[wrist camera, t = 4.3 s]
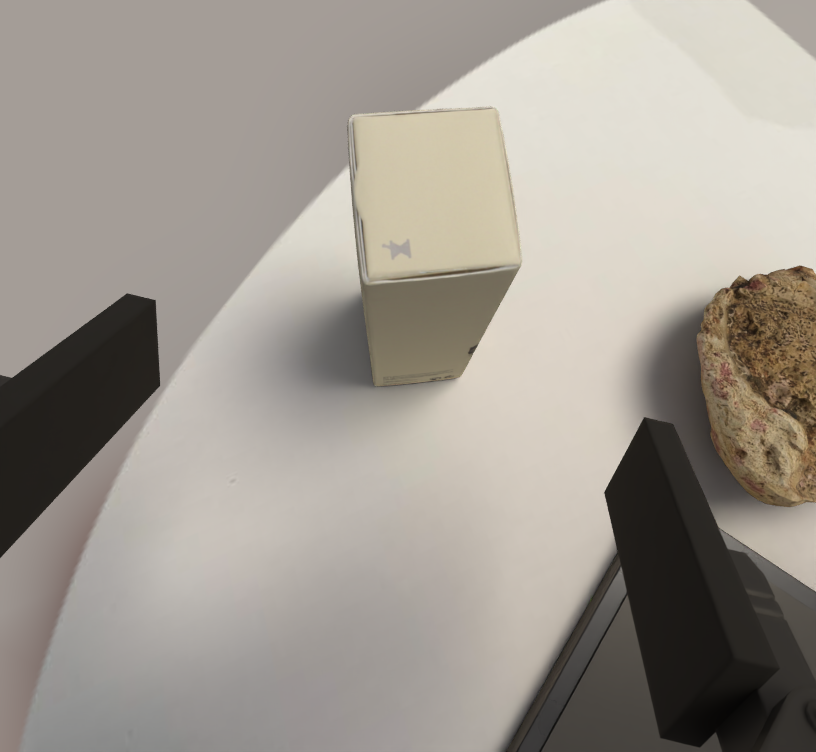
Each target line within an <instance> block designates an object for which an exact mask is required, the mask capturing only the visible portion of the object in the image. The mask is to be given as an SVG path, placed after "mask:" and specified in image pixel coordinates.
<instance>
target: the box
mask: <svg viewBox="0 0 816 752" xmlns="http://www.w3.org/2000/svg"><path fill="white" fill-rule="evenodd" d="M347 131H348V150H349V166H350V180H351V193H352V206H353V217H354V228H355V238H356V249H357V258H358V267H359V275H360V284H361V293H362V301H363V309H364V316H365V323H366V330H367V338H368V345H369V353H370V360H371V369H372V377H373V383H374V385H375V386H387V385H400V384H410V383H419V382H428V381H437V380H445V379H452V378H458V377H460V376H461V375H462V374H463V372H464V370H465V368H466V366H467V365H468V363H469V361H470V359H471V357H472V355H473V353H474V351H475V349H476V348H477V346H478V344H479V342H480V340H481V338H482V336H483V335H484V333H485V331H486V329H487V327H488V325H489V323H490V322H491V320H492V318H493V316H494V314H495V312H496V311H497V309H498V307H499V305H500V303H501V301H502V300H503V298H504V296H505V294H506V292H507V290H508V288H509V287H510V285H511V283H512V281H513V279H514V277H515V276H516V274H517V272H518V270H519V268H520V267H521V263H522V254H521V245H520V236H519V228H518V222H517V215H516V208H515V201H514V194H513V186H512V181H511V175H510V169H509V163H508V158H507V152H506V146H505V141H504V136H503V131H502V127H501V123H500V117H499V113H498V110H497V109H496V108H495V107H491V106H490V107H477V108H458V109H437V110H411V111H396V112H381V113H367V114H354V115H351V117H350V118H349V120H348V125H347Z"/></svg>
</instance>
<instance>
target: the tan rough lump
mask: <svg viewBox="0 0 816 752" xmlns="http://www.w3.org/2000/svg"><path fill="white" fill-rule="evenodd" d="M697 347H698V355H699V359H700V363H701V385H702V390H703V393H704V396H705V399H706V406H707V412H708V417H709V421H710V425H711V433H710V436H711V439H712V441H713V444H714V447H715V449H716V451H717V453H718V454H719V455H720V457H721V458H722V460H723V462H724V464H725V465H726V466H727V467H728V468H729V470H730V472H731V473H732V475H733V476H734V477H735V479H736V480H737V481H738V483H739V484H740V485H741V486H742V487H743V488H744V489H745V490H746V491H747V492H748V493H749V494H750V495H752V496H753V497H754V498H756V499H757V500H759V501H761V502H764V503H766V504H770V505H775V506H783V507H793V506H797V505H800V504H802V503H805V502H815V503H816V274H815V273H814V271H813V269H810V268H807V267H803V266H797V267H794V268H790V269H787V270H785V269H782V270H777V271H774V272H771V273H769V274H768V275H763V274H757V275H754V276H753V277H752V278H751V279H750V280H749V281H748V280H746V279H744V278H743V277H741V276H739V277H738V278H737V279H736V280H735V281H734V282H733V283H732V285H731V287H730V288H723V289H721V290H720V291H718V292H717V293H716V294H715V296H714V298H713V300H712V301H711V302H710V303H709V304H708V305H707V306H706V308H705V309H704V320H703V321H702V323H701V331H700V332H699V333H698V334H697Z"/></svg>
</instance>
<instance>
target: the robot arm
mask: <svg viewBox="0 0 816 752" xmlns="http://www.w3.org/2000/svg"><path fill="white" fill-rule="evenodd" d="M159 386H160V373H159V355H158V337H157V319H156V301H155V300H152V299H148V298H144V297H140V296H136V295H131V294H126V295H124V296H123V297H122V298H120V299H119V300H118V301H116V302H115V303H114V304H112V305H111V306H109V307H108V308H107V309H106V310H104V311H103V312H101V313H100V314H99V315H97V316H96V317H95V318H93V319H92V320H90V321H89V322H88V323H86V324H85V325H84V326H82V327H81V328H79V329H78V330H77V331H75V332H74V333H73V334H71V335H70V336H69V337H67V338H66V339H64V340H63V341H62V342H60V343H59V344H58V345H56V346H55V347H54V348H52V349H51V350H50V351H48V352H47V353H45V354H44V355H43V356H41V357H40V358H39V359H37V360H36V361H35V362H33V363H32V364H31V365H29V366H28V367H26V368H25V369H24V370H22V371H21V372H19V373H18V374H17V375H16V376H14V377H13V378H10V377H6V376H2V375H0V558H1V557H2V555H3V554H4V553H5V552H6V551H7V550H8V549H9V548H10V547H11V546H12V545H13V544H14V543H15V541H16V540H17V539H18V538H19V537H20V536H21V535H22V534H23V533H24V532H25V531H26V530H27V529H28V527H29V526H30V525H31V524H32V523H33V522H34V521H35V520H36V519H37V518H38V517H39V516H40V514H41V513H42V512H43V511H44V510H45V509H46V508H47V507H48V506H49V505H50V504H51V503H52V502H53V500H54V499H55V498H56V497H57V496H58V495H59V494H60V493H61V492H62V491H63V490H64V489H65V488H66V487H67V485H68V484H69V483H70V482H71V481H72V480H73V479H74V478H75V477H76V476H77V475H78V474H79V472H80V471H81V470H82V469H83V468H84V467H85V466H86V465H87V464H88V463H89V462H90V461H91V460H92V458H93V457H94V456H95V455H96V454H97V453H98V452H99V451H100V450H101V449H102V448H103V447H104V446H105V444H106V443H107V442H108V441H109V440H110V439H111V438H112V437H113V436H114V435H115V434H116V433H117V431H118V430H119V429H120V428H121V427H122V426H123V425H124V424H125V423H126V422H127V421H128V420H129V419H130V417H131V416H132V415H133V414H134V413H135V412H136V411H137V410H138V409H139V408H140V407H141V406H142V404H143V403H144V402H145V401H146V400H147V399H148V398H149V397H150V396H151V395H152V394H153V393H154V392H155V390H156V389H157V388H158V387H159ZM604 493H605V497H606V502H607V506H608V511H609V515H610V519H611V524H612V528H613V533H614V537H615V541H616V546H617V550H618V555H619V559H620V563H621V568H622V572H623V577H624V581H625V585H626V590H627V594H628V599H629V603H630V607H631V612H632V616H633V621H634V625H635V629H636V634H637V638H638V643H639V647H640V651H641V656H642V660H643V665H644V669H645V673H646V678H647V682H648V687H649V691H650V695H651V700H652V704H653V709H654V713H655V717H656V722H657V726H658V731H659V735H660V738H662V739H666V740H670V741H674V742H678V743H682V744H686V745H691V746H695V747H699V748H700V747H701V746H702V745H703V744H704V743H705V742H706V741H707V740H708V739H709V738H710V737H711V736H712V735H713V734H714V733H715V732H716V734H717V737H718V740H719V743H720V747H721V750H722V752H816V680H815V678H814V676H813V674H812V672H811V670H810V668H809V666H808V664H807V662H806V659H805V657H804V655H803V653H802V651H801V649H800V647H799V645H798V643H797V641H796V639H795V637H794V635H793V633H792V630H791V628H790V626H789V624H788V622H787V620H784V614H783V612H782V610H781V608H780V606H779V604H778V602H777V601H775V595H774V593H773V591H772V589H771V587H770V585H769V583H768V581H767V579H766V577H765V575H764V574H763V572H762V571H761V570H760V569H759V568H758V567H757V565H756V564H755V563H754V562H753V561H752V560H751V559H750V557H749V556H748V555H747V554H746V553H743V552H739V551H734V550H730V549H728V548H727V546H726V544H725V541H724V539H723V537H722V535H721V532H720V530H719V528H718V525H717V523H716V521H715V519H714V516H713V514H712V512H711V509H710V507H709V505H708V503H707V500H706V498H705V496H704V493H703V491H702V489H701V487H700V484H699V482H698V480H697V477H696V475H695V473H694V471H693V468H692V466H691V464H690V461H689V459H688V457H687V455H686V452H685V450H684V448H683V445H682V443H681V441H680V439H679V436H678V434H677V432H676V429H675V427H674V425H673V424H671V423H667V422H662V421H658V420H654V419H650V418H646V417H644V419H643V421H642V423H641V425H640V426H639V428H638V430H637V432H636V434H635V436H634V438H633V440H632V441H631V443H630V445H629V447H628V449H627V451H626V453H625V454H624V456H623V458H622V460H621V462H620V464H619V466H618V468H617V469H616V471H615V473H614V475H613V477H612V479H611V481H610V483H609V484H608V486H607V488H606V490H605V492H604Z"/></svg>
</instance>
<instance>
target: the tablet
mask: <svg viewBox="0 0 816 752" xmlns="http://www.w3.org/2000/svg"><path fill="white" fill-rule="evenodd" d="M719 530H720V532H721V535H722V537H723V539H724V541H725V544H726V546H727V548H728V549H730V550H734V551H739V552H743V553H746V554H747V555H748V556H749V557H750V559H751V560H752V561H753V562H754V563H755V564H756V565H757V567H758V568H759V569H760V570H761V571H762V572H763V574H764V575H765V577H766V579H767V581H768V583H769V585H770V587H771V589H772V591H773V593H774V595H775V601H777V602H778V604H779V606H780V608H781V610H782V612H783V614H784V620H787V622H788V624H789V626H790V628H791V630H792V633H793V635H794V637H795V639H796V641H797V643H798V645H799V647H800V649H801V651H802V653H803V655H804V657H805V659H806V662H807V664H808V666H809V668H810V670H811V672H812V674H813V676H814V678H815V680H816V592H815V591H814V590H812V589H811V588H809V587H808V586H806V585H804V584H803V583H801V582H800V581H798V580H797V579H795V578H794V577H792V576H791V575H789V574H788V573H786V572H785V571H783V570H782V569H780V568H779V567H777V566H776V565H774V564H773V563H771V562H770V561H768V560H767V559H765V558H764V557H762V556H761V555H759V554H758V553H756V552H755V551H753V550H752V549H750V548H749V547H747V546H746V545H744V544H742V543H741V542H739V541H738V540H736V539H735V538H733V537H732V536H730V535H729V534H727V533H726V532H724V531H723V530H721V529H720V528H719ZM506 752H722V750H721V747H720V743H719V740H718V737H717V734H716V732H715V733H714V734H713V735H712V736H711V737H710V738H709V739H708V740H707V741H706V742H705V743H704V744H703V745H702V746H701V747H700V748H699V747H695V746H691V745H686V744H682V743H678V742H674V741H670V740H666V739H662V738H660V735H659V731H658V726H657V722H656V717H655V713H654V709H653V704H652V700H651V695H650V691H649V687H648V682H647V678H646V673H645V669H644V665H643V660H642V656H641V651H640V647H639V643H638V638H637V634H636V629H635V625H634V621H633V616H632V612H631V607H630V603H629V599H628V594H627V590H626V585H625V581H624V577H623V572H622V568H621V563H620V559H619V555H618V553H617V555H616V557H615V559H614V561H613V562H612V564H611V566H610V568H609V569H608V571H607V573H606V575H605V577H604V578H603V580H602V582H601V584H600V585H599V587H598V589H597V591H596V593H595V594H594V596H593V598H592V600H591V601H590V603H589V605H588V607H587V609H586V610H585V612H584V614H583V616H582V617H581V619H580V621H579V623H578V625H577V626H576V628H575V630H574V632H573V633H572V635H571V637H570V639H569V641H568V642H567V644H566V646H565V648H564V649H563V651H562V653H561V655H560V656H559V658H558V660H557V662H556V664H555V665H554V667H553V669H552V671H551V672H550V674H549V676H548V678H547V680H546V681H545V683H544V685H543V687H542V688H541V690H540V692H539V694H538V696H537V697H536V699H535V701H534V703H533V704H532V706H531V708H530V710H529V712H528V713H527V715H526V717H525V719H524V720H523V722H522V724H521V726H520V728H519V729H518V731H517V733H516V735H515V736H514V738H513V740H512V742H511V744H510V745H509V747H508V749H507V751H506Z"/></svg>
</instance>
